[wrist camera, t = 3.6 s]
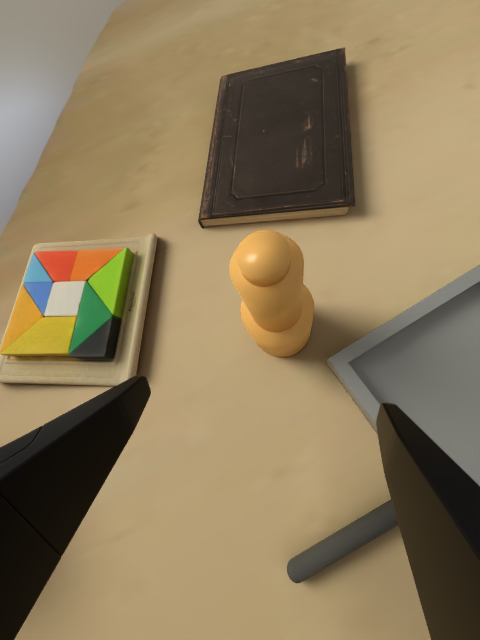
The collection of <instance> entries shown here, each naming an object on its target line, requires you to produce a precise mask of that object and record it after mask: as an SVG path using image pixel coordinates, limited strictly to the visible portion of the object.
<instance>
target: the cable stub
mask: <svg viewBox="0 0 480 640" xmlns="http://www.w3.org/2000/svg"><path fill="white" fill-rule="evenodd" d="M397 525H399V524H398V520H397V517H396V513H395V510H394V506H393V503H392V499H391V500H390V501H388V502H386V503H384V504H383V505H381V506H379V507H378V508H376V509H374V510H373V511H371V512H369V513H368V514H366V515H364V516H363V517H361V518H359V519H358V520H356V521H354V522H353V523H351V524H349V525H348V526H346V527H344V528H342V529H341V530H339V531H337V532H336V533H334V534H332V535H331V536H329V537H327V538H326V539H324V540H322V541H321V542H319V543H317V544H316V545H314V546H312V547H311V548H309V549H307V550H306V551H304V552H302V553H300V554H299V555H297V556H295V557H294V558H292V559H291V560H290V561H289V562H288V565H287V572H288V575H289V578H290V579H291V580H292V581H293V582H295V583H300V582H302V581H304V580H306V579H307V578H309V577H311V576H312V575H314V574H316V573H317V572H319V571H321V570H322V569H324V568H326V567H328V566H329V565H331V564H333V563H334V562H336V561H338V560H339V559H341V558H343V557H344V556H346V555H348V554H350V553H351V552H353V551H355V550H356V549H358V548H360V547H361V546H363V545H365V544H366V543H368V542H370V541H372V540H373V539H375V538H377V537H378V536H380V535H382V534H383V533H385V532H387V531H388V530H390V529H392V528H394V527H395V526H397Z"/></svg>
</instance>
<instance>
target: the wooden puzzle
mask: <svg viewBox="0 0 480 640" xmlns="http://www.w3.org/2000/svg"><path fill="white" fill-rule="evenodd" d="M156 245H157V236H156V235H155V234H151V235H149V236H145V237H132V238H118V239H103V240H88V241H73V242H56V243H40V244H36V245H35V246H34V247H33V249H32V252H31V255H30V258H29V261H28V264H27V267H26V270H25V274H24V277H23V280H22V283H21V286H20V289H19V292H18V295H17V298H16V301H15V304H14V307H13V310H12V313H11V316H10V319H9V322H8V325H7V328H6V331H5V334H4V336H3V339H2V342H1V345H0V383H31V384H65V385H99V386H117V385H119V384H120V383H122V382H124V381H126V380H128V379H130V378H132V377H133V376H136V373H137V366H138V359H139V353H140V346H141V340H142V333H143V327H144V321H145V314H146V308H147V301H148V295H149V289H150V282H151V276H152V270H153V264H154V257H155V251H156Z"/></svg>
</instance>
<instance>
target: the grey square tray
mask: <svg viewBox="0 0 480 640" xmlns="http://www.w3.org/2000/svg"><path fill="white" fill-rule="evenodd" d="M326 363H327V365H328V366H329V367H330V369H331V370H332V372H333V373H334V374H335V376H336V377H337V378H338V380H339V381H340V383H341V384H342V385H343V387H344V388H345V390H346V391H347V392H348V394H349V395H350V396H351V398H352V399H353V401H354V402H355V403H356V405H357V406H358V408H359V409H360V410H361V412H362V413H363V414H364V416H365V417H366V419H367V420H368V421H369V423H370V424H371V426H372V427H373V428H374V430H375V431H376V432H377V427H376V419H377V415H378V411H379V407H380V404H381V403H392V404H396V405H397V406H398V407H399V408H400V409H401V410H402V411H403V412H404V413H405V414H406V415H407V416H408V417H409V418H410V419H412V420H413V421H414V422H415V423H416V424H417V425H418V426H419V427H420V428H421V429H422V430H423V431H424V432H425V433H426V434H427V435H428V436H429V437H430V438H431V439H432V440H433V441H434V442H435V443H436V444H437V445H438V446H439V447H440V448H441V449H442V450H443V451H444V452H445V453H446V454H447V455H449V456H450V457H451V458H452V459H453V460H454V461H455V462H456V463H457V464H458V465H459V466H460V467H461V468H462V469H463V470H464V471H465V472H466V473H467V474H468V475H469V476H470V477H471V478H472V479H473V480H474V481H475V482H476V483H477V484H478V485H479V486H480V265H478V266H477V267H475V268H473V269H472V270H470V271H468V272H467V273H465V274H464V275H462V276H460V277H459V278H457V279H456V280H454V281H452V282H451V283H449V284H447V285H446V286H444V287H443V288H441V289H439V290H438V291H436V292H435V293H433V294H431V295H430V296H428V297H426V298H425V299H423V300H422V301H420V302H418V303H417V304H415V305H414V306H412V307H410V308H409V309H407V310H405V311H404V312H402V313H401V314H399V315H397V316H396V317H394V318H393V319H391V320H389V321H388V322H386V323H384V324H383V325H381V326H380V327H378V328H376V329H375V330H373V331H372V332H370V333H368V334H367V335H365V336H364V337H362V338H360V339H359V340H357V341H355V342H354V343H352V344H351V345H349V346H347V347H346V348H344V349H343V350H341V351H339V352H338V353H336V354H334V355H333V356H331V357H330V358H328V359H327V361H326ZM377 434H378V433H377Z"/></svg>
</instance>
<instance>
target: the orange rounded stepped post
mask: <svg viewBox="0 0 480 640" xmlns="http://www.w3.org/2000/svg"><path fill="white" fill-rule="evenodd" d="M303 269H304V259H303V254H302V251H301V250H300V248H299V246H298V245H297V244H296V243H295V242H294V241H293V240H292V239H291V238H289V237H287V236H285V235H282V234H280V233H278V232H275V231H272V230H261V231H257V232H254V233H252V234H250V235H248V236H247V237H246V238H245V239H244V240H243V241H242V242H241V243H240V245H239V247H238V248H237V249H236V251H235V252H234V254H233V256H232V258H231V262H230V276H231V279H232V282H233V283H234V285H235V287H236V289H237V291H238V292H239V294H240V296H241V298H242V299H243V300H242V303H241V318H242V321H243V324H244V326H245V327H246V329H247V330H248V332H249V333H250V334H251V336H252V337H253V338H254V340H255V341H256V342H257V344H258V345H259V346H260V348H261V349H262V350H264V351H265V352H266V353H268V354H270V355H273V356H277V357H287V356H291V355H294V354H296V353H298V352H299V351H300V350H302V349H303V348H304V346H305V345H306V344H307V342H308V340H309V338H310V333H311V327H312V321H313V315H314V301H313V298H312V295H311V293H310V291H309V290H308V288H307V287H306V286H305V285H304V284H303Z"/></svg>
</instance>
